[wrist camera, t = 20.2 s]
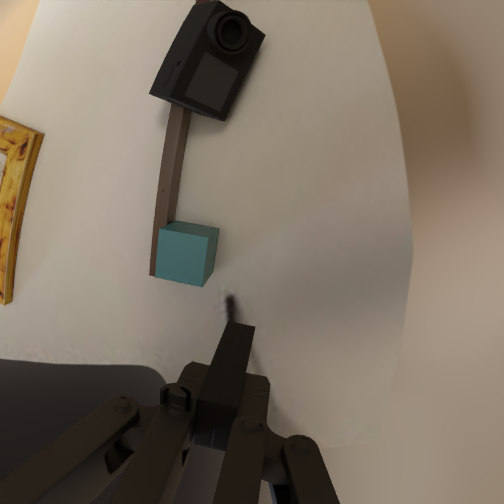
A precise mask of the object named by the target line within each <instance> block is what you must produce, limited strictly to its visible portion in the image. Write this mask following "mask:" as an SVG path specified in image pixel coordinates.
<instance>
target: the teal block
mask: <svg viewBox="0 0 504 504" xmlns="http://www.w3.org/2000/svg"><path fill="white" fill-rule="evenodd" d="M218 234H219V228H214V227H208V226H203V225H197V224H191V223H185V222H180V221H174V222H172V223H170V224H168V225H166V226H164V227H162V228H160V229H159V237H158V248H157V260H156V273H155V277H157V278H162V279H166V280H171V281H176V282H180V283H185V284H190V285H194V286H199V287H203V286H204V284H205V283H206V281H207V280H208V278H209V277H210V275H211V274H212V273H213V269H214V262H215V255H216V247H217V241H218Z"/></svg>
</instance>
